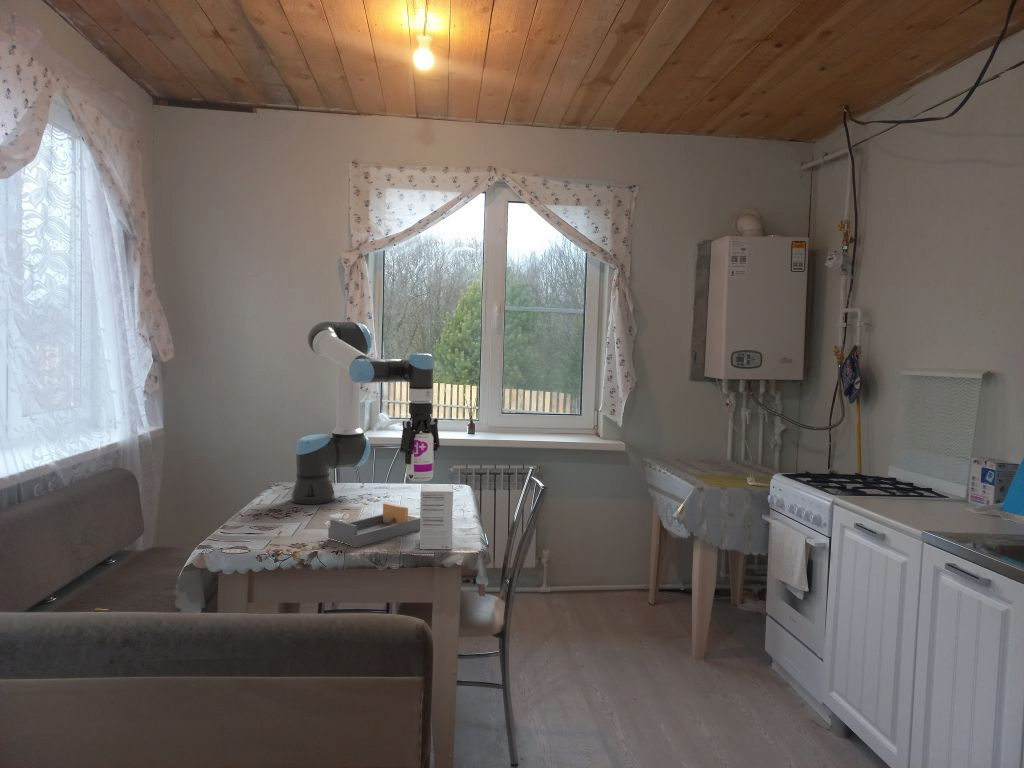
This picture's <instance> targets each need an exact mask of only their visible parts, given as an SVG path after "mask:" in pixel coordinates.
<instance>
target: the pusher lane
mask: <svg viewBox="0 0 1024 768" xmlns="http://www.w3.org/2000/svg"><path fill="white" fill-rule="evenodd" d="M327 529H328V530H327V531H328V532H327V533H328V534H327V535H328V536H327V537H328V538H330V539H334V540H337V541H340V542H343V543H347V544H350V545H352V546H355V547H358V548H360V547H359V546H361V547H364V546H363V545H365V546H367V545H366V544H368V545H371V544H375V543H378V542H381V541H380V540H382V541H385V540H388V538H389V539H392V538H395V536H396V537H399V536H402V535H405V534H409V533H413V532H416V530H417V531H420V530H419V529H420V516H415V515H411V514H408V521H405V522H402V523H398V524H394V525H391V524H386V523H384V522H383V513H382V514H378V515H373V516H370V517H366V518H365V517H364V518H363V519H358V520H353V521H350V522H345V521H342V520H338V519H334V518H332V519H329V526H328V528H327ZM328 538H327V539H328ZM384 539H385V540H384ZM377 541H378V542H377ZM374 542H375V543H374ZM370 543H371V544H370ZM355 547H354V548H355Z"/></svg>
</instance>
